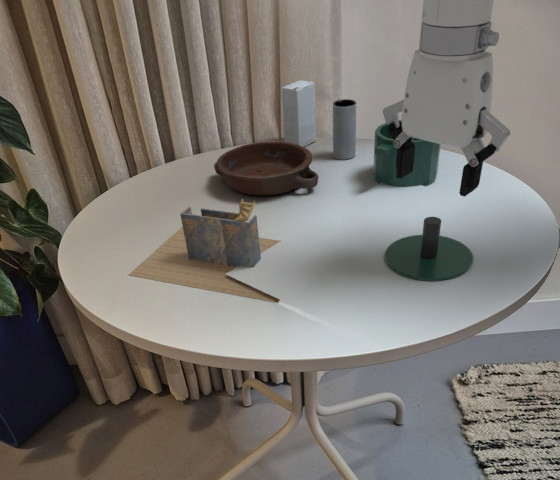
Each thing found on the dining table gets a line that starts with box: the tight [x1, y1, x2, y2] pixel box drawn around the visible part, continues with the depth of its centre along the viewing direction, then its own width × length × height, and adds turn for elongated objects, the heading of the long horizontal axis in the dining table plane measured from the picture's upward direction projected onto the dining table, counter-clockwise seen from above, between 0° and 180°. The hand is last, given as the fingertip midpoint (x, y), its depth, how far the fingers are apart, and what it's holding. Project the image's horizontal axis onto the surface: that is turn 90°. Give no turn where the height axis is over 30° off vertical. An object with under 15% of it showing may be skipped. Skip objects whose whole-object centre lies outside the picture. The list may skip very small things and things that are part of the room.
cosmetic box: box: [281, 79, 317, 148], centre depth 121 cm, size 6×4×12 cm
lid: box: [384, 216, 474, 282], centre depth 83 cm, size 13×13×7 cm
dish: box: [213, 140, 319, 196], centre depth 109 cm, size 18×22×5 cm
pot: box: [372, 119, 442, 188], centre depth 106 cm, size 12×17×8 cm
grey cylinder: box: [332, 98, 357, 161], centre depth 115 cm, size 4×4×10 cm
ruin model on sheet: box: [128, 198, 282, 303], centre depth 86 cm, size 25×16×10 cm, turn 67°
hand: (434, 183), depth 77 cm, fingers open, 9 cm apart
